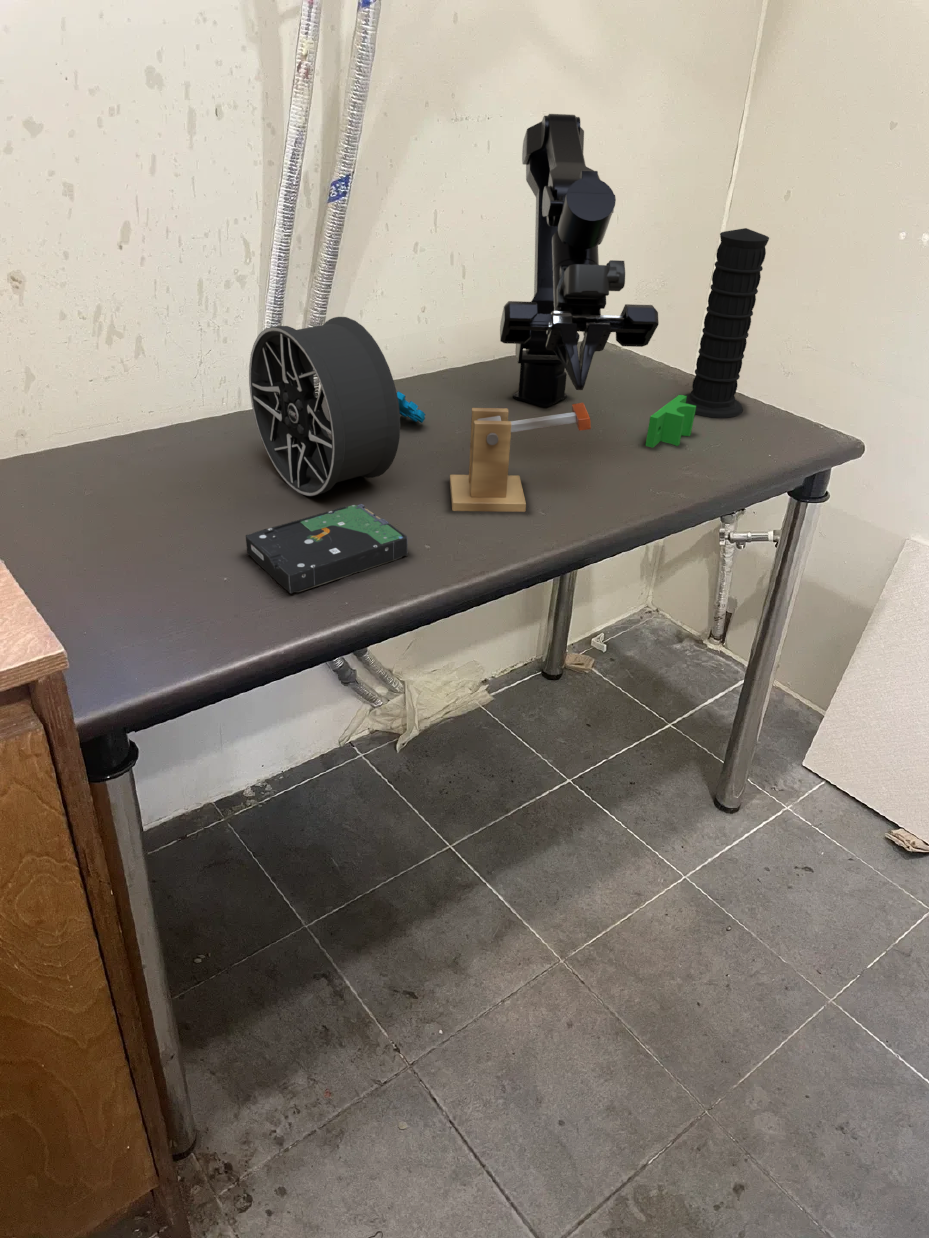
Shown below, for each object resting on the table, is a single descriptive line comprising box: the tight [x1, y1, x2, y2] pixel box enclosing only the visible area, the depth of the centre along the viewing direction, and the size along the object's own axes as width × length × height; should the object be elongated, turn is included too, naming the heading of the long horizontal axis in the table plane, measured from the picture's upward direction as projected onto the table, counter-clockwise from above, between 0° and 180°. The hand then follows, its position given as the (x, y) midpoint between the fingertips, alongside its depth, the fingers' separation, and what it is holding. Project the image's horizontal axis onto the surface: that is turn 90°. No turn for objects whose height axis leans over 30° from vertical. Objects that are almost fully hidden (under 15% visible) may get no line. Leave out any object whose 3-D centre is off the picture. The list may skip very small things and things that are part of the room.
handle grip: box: [683, 227, 770, 419], centre depth 137 cm, size 10×26×10 cm
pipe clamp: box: [645, 394, 696, 449], centre depth 132 cm, size 11×4×5 cm, turn 147°
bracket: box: [449, 407, 527, 513], centre depth 112 cm, size 9×8×11 cm
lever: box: [478, 402, 592, 433], centre depth 110 cm, size 13×5×2 cm, turn 93°
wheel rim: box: [248, 316, 401, 497], centre depth 111 cm, size 20×9×20 cm, turn 39°
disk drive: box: [245, 503, 409, 594], centre depth 101 cm, size 10×3×15 cm
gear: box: [396, 390, 426, 424], centre depth 131 cm, size 11×6×10 cm
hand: (580, 388), depth 110 cm, fingers closed
